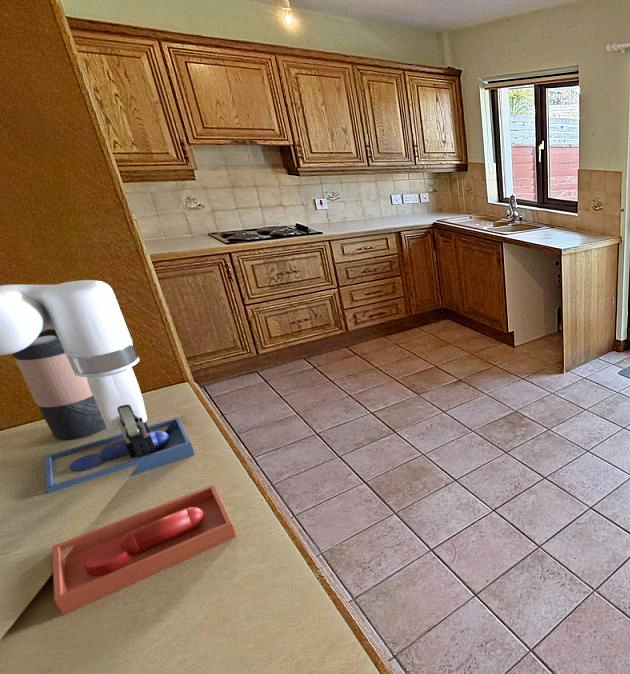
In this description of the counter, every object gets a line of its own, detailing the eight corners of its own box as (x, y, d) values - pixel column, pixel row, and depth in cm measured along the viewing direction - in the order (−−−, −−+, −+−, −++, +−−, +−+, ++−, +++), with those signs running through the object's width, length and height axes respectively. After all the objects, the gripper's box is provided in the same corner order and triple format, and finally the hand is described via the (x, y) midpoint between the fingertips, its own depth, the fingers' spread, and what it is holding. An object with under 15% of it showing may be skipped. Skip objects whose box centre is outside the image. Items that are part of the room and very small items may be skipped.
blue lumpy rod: (169, 438, 87) (164, 423, 86) (173, 448, 84) (168, 433, 83) (72, 468, 78) (64, 452, 77) (73, 481, 76) (65, 465, 74)
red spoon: (203, 513, 71) (197, 496, 70) (210, 529, 68) (203, 512, 67) (86, 561, 62) (76, 544, 61) (88, 582, 60) (78, 564, 58)
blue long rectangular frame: (195, 454, 84) (190, 442, 83) (52, 502, 72) (45, 489, 71) (183, 427, 91) (179, 416, 90) (51, 468, 79) (44, 455, 78)
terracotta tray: (236, 536, 68) (232, 523, 67) (62, 615, 56) (53, 600, 55) (218, 496, 75) (214, 484, 74) (59, 560, 63) (52, 546, 62)
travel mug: (115, 420, 92) (74, 325, 84) (117, 437, 87) (73, 338, 79) (58, 435, 87) (8, 335, 79) (56, 454, 82) (3, 350, 74)
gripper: (68, 347, 78) (109, 439, 85) (73, 385, 68) (119, 485, 75) (130, 336, 83) (163, 423, 91) (143, 368, 73) (179, 464, 80)
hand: (143, 450), depth 83 cm, fingers open, 4 cm apart
